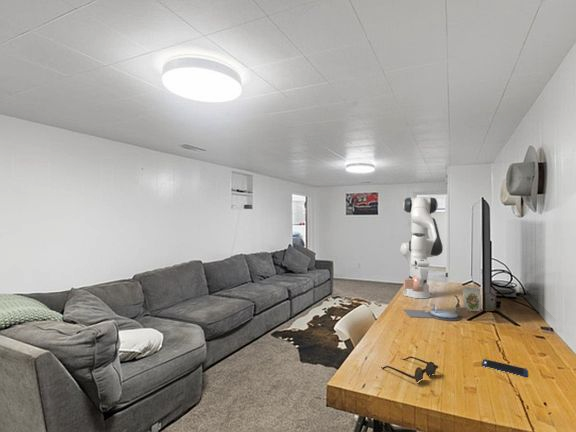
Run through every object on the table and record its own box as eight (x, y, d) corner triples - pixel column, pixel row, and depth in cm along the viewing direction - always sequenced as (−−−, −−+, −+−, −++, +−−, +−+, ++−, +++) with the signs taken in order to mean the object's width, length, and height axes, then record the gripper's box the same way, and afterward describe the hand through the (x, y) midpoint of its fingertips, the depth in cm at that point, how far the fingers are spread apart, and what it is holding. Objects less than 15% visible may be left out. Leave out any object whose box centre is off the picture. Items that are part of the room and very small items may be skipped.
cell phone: (483, 360, 126) (483, 358, 127) (527, 371, 118) (527, 369, 118) (481, 367, 121) (481, 365, 121) (527, 378, 112) (527, 376, 112)
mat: (403, 310, 194) (403, 309, 194) (423, 311, 193) (423, 310, 193) (410, 317, 180) (410, 316, 180) (432, 318, 179) (432, 317, 179)
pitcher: (492, 315, 187) (493, 292, 187) (457, 310, 196) (458, 288, 196) (491, 311, 196) (491, 288, 196) (458, 306, 205) (458, 285, 205)
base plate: (423, 311, 192) (423, 310, 192) (452, 312, 191) (452, 311, 191) (433, 320, 175) (433, 319, 175) (466, 321, 174) (466, 320, 174)
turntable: (435, 317, 177) (436, 308, 177) (426, 310, 191) (426, 302, 191) (472, 319, 175) (472, 310, 175) (460, 312, 189) (461, 303, 189)
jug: (403, 289, 190) (403, 275, 190) (423, 289, 189) (423, 276, 189) (406, 291, 184) (406, 277, 184) (426, 292, 183) (427, 277, 183)
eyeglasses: (414, 386, 105) (414, 371, 105) (377, 368, 117) (377, 355, 117) (438, 374, 114) (438, 360, 114) (401, 359, 126) (401, 346, 126)
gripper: (407, 258, 197) (407, 281, 197) (418, 263, 177) (418, 288, 176) (418, 259, 196) (417, 281, 196) (430, 263, 176) (429, 288, 176)
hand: (418, 285), depth 186 cm, fingers closed on jug, 6 cm apart
